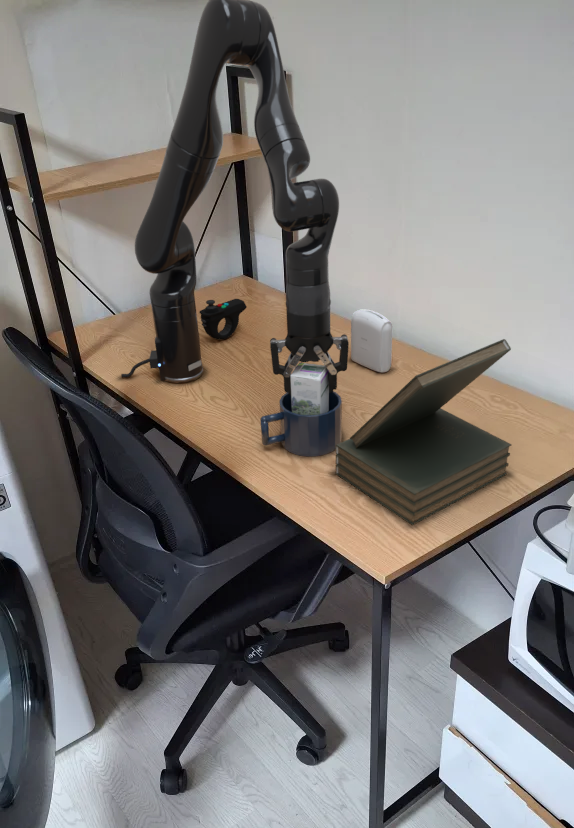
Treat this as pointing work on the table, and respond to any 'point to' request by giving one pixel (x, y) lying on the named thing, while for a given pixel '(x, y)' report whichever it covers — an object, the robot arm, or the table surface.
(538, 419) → the table surface
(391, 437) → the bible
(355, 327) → the photo printer
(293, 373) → the syrup box
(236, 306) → the controller
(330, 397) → the mug
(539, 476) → the table surface
